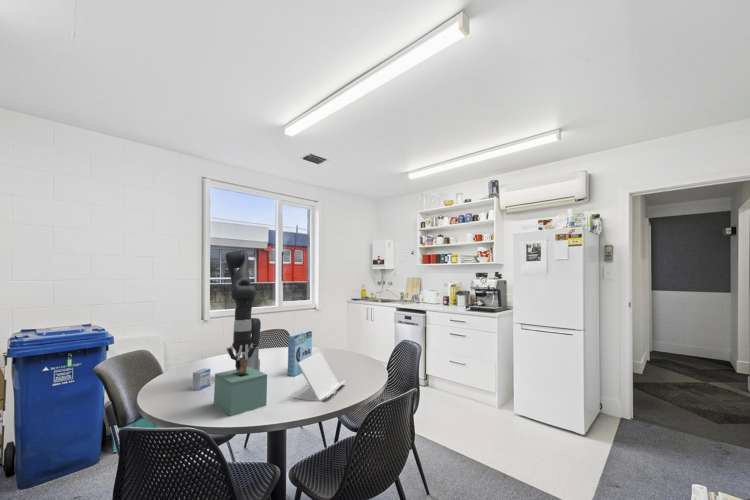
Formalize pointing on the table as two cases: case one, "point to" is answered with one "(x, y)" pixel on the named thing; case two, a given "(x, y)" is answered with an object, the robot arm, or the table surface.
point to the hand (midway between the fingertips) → (241, 367)
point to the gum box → (298, 350)
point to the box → (240, 390)
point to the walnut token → (242, 365)
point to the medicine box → (201, 379)
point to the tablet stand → (317, 379)
